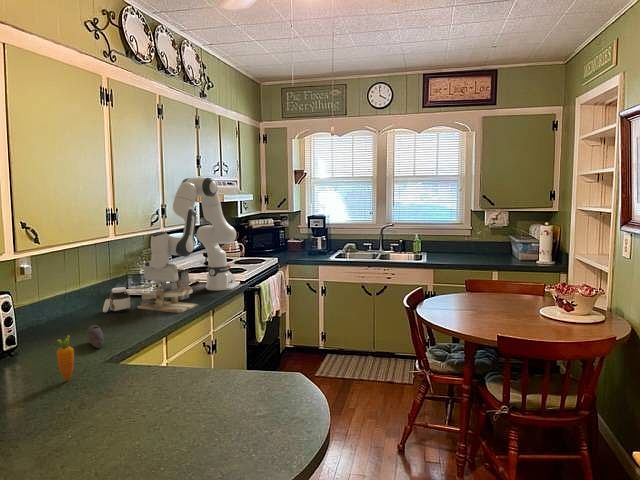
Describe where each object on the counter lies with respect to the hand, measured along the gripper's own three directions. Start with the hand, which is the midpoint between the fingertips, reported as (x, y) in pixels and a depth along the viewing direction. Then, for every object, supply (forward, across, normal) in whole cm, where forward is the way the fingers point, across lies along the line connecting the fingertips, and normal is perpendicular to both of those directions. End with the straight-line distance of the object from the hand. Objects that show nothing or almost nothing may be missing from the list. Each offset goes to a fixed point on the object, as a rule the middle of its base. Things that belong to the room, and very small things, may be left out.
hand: (161, 289), depth 252 cm
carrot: (+10, -39, +88) cm, 97 cm away
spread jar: (+10, +16, +16) cm, 25 cm away
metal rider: (+1, -6, 0) cm, 6 cm away
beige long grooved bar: (+6, -4, 0) cm, 7 cm away
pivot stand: (+9, -3, 0) cm, 10 cm away
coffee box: (+10, +4, -19) cm, 22 cm away
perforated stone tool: (+10, -18, +59) cm, 62 cm away
